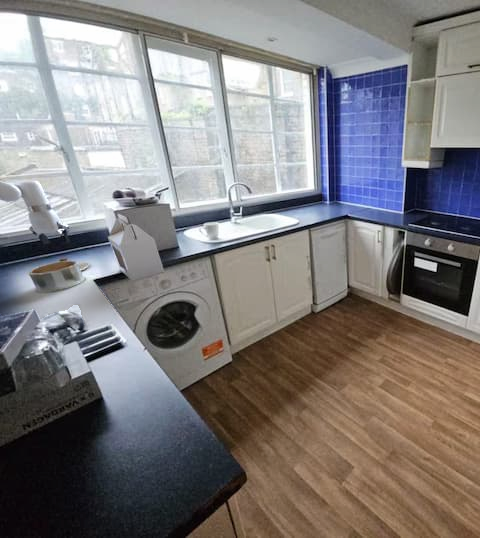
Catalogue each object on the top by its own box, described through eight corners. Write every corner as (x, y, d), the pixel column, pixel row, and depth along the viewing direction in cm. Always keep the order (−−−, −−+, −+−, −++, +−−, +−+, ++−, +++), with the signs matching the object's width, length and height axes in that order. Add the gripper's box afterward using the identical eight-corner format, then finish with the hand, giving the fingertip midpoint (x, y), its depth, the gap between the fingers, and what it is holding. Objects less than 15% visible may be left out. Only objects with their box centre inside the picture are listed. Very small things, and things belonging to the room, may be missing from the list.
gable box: (120, 270, 147) (99, 215, 136) (150, 262, 157) (132, 210, 146) (132, 281, 134) (110, 221, 123) (164, 272, 143) (146, 215, 132)
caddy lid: (35, 278, 141) (29, 265, 138) (65, 265, 156) (60, 253, 154) (71, 276, 142) (66, 263, 139) (97, 263, 157) (93, 252, 154)
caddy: (27, 293, 126) (17, 275, 123) (58, 278, 141) (51, 261, 137) (64, 291, 127) (56, 273, 124) (92, 276, 141) (85, 259, 138)
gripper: (12, 211, 133) (30, 246, 140) (52, 209, 133) (68, 244, 140) (28, 207, 140) (45, 241, 146) (66, 206, 140) (81, 240, 147)
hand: (56, 243), depth 143 cm, fingers open, 9 cm apart
